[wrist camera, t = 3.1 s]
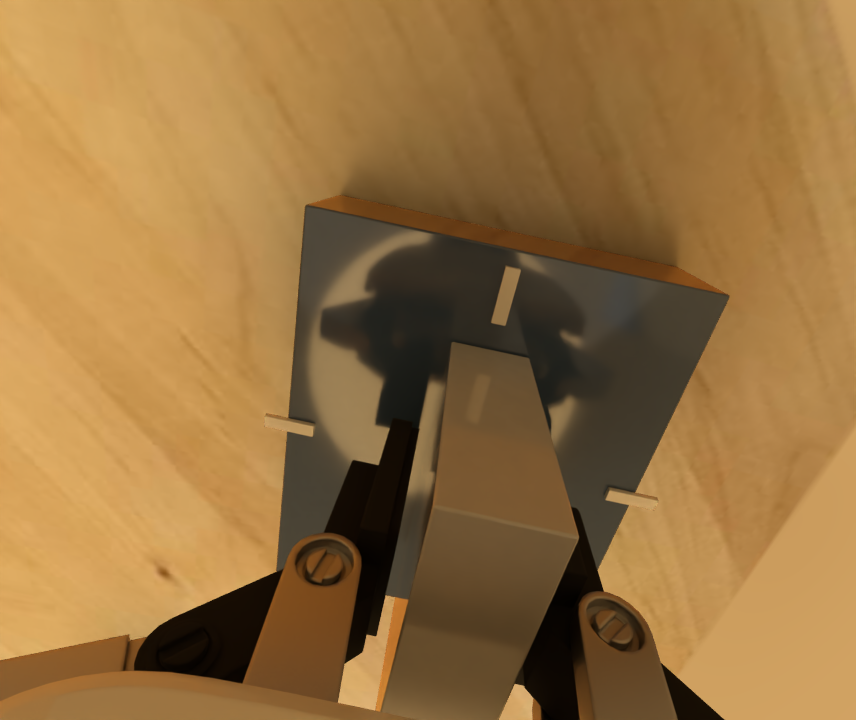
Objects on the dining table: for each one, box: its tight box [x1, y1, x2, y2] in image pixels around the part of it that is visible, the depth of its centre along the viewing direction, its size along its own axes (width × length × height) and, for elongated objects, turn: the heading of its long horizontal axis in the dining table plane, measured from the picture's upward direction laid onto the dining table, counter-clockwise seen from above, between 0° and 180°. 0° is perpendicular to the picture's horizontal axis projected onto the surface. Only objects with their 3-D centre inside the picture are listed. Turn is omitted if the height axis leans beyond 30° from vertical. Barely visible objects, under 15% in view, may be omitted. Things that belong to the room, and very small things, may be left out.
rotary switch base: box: [264, 195, 729, 597], centre depth 14 cm, size 12×11×3 cm
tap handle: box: [375, 342, 579, 720], centre depth 10 cm, size 7×2×6 cm, turn 169°
